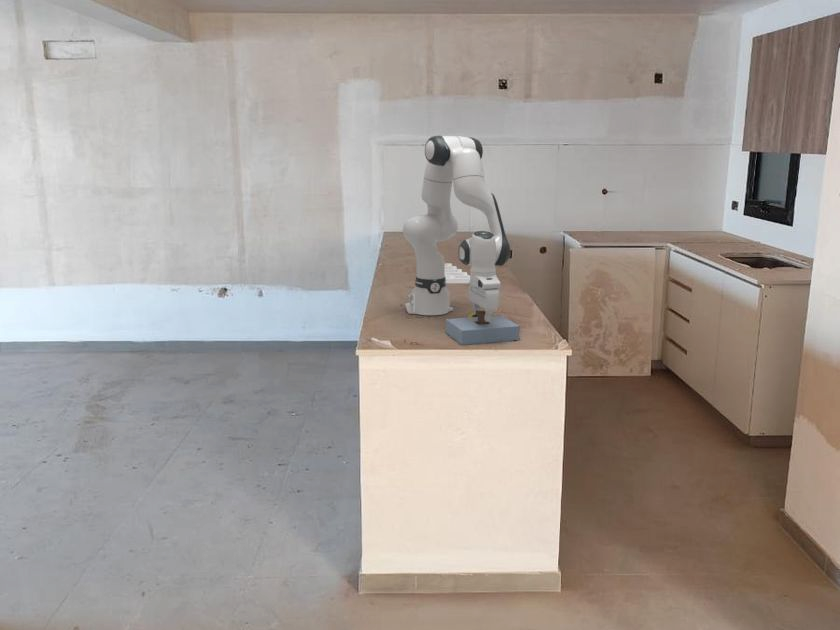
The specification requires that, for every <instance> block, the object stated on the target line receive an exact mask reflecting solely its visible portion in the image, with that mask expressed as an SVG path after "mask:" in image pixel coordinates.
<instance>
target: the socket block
mask: <svg viewBox="0 0 840 630" xmlns="http://www.w3.org/2000/svg"><path fill="white" fill-rule="evenodd" d="M467 317H468V316H467ZM467 317H458V318H457V317H455V318H446V319H445V333H446V334H447V335H448V336H449V335H450V336H449V337H451V338H452V339H453V340H455V341H456V342H457V343H458V344H460V345H461V346H467V345H468V346H469V345H478V344H479V345H481V344H489V343H491V344H492V343H502V342H504V341H505V342H514V341H513V340H516V341H520V334H521V333H520V329H521V328H520V327H521V326H520V325H519V324H517V323H516V322H513V321H512V320H510V319H508V318H507V317H505V316H503V315H501V314H498V315H493V316H491V317H490V321H489V322H487V324H480V325H478V317H468V318H467Z"/></svg>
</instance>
